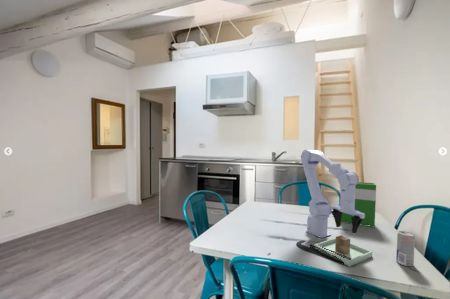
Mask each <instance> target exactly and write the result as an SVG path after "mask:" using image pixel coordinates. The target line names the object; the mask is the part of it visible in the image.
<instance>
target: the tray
mask: <svg viewBox="0 0 450 299" xmlns="http://www.w3.org/2000/svg"><path fill="white" fill-rule="evenodd" d="M335 244H336V237H334V238H331V239H327V240H324V241H321V242H318V243H315V244H313V247H314V246H316V247H318V248H320V249H322V250H324V251H326V252H327V253H329V254H332V255H334V256H336V257H337V258H339V259H341V260H342V261H343V262H344V264H343V265H345V266H347V267H351V268H352V267H353V266H355V265H358V264H360V263H362V262H365V261H367V260H369V259H371V258H373V251H371V250H369V249H367V248H364V247H361V246H359V245H358V244H357V245H356V244H354V243H352V242H350V253H348V254H345V255H346V256H348V257H350V258H351V260H348V259H346V258H343V257H341V256H339V255H337V254H335V253H333V252H331V251H329V250H332V251H335ZM320 246H322V247H324V248H326V249H329V250H326V249H324V248H322V247H320ZM335 252H337V251H335ZM337 253H339V252H337ZM340 254H341V253H340Z"/></svg>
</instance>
